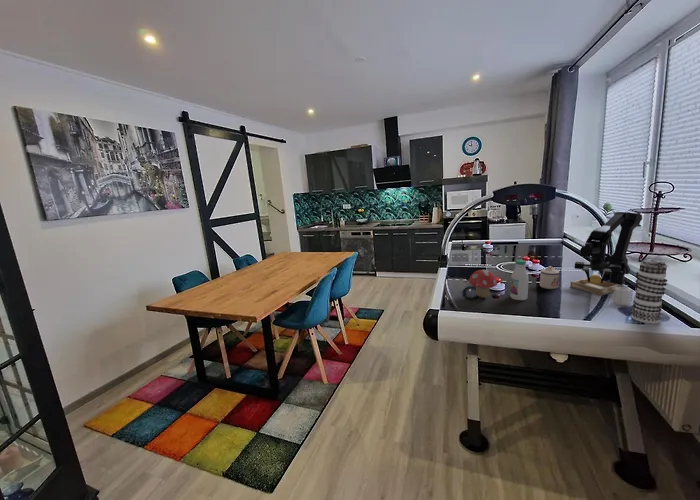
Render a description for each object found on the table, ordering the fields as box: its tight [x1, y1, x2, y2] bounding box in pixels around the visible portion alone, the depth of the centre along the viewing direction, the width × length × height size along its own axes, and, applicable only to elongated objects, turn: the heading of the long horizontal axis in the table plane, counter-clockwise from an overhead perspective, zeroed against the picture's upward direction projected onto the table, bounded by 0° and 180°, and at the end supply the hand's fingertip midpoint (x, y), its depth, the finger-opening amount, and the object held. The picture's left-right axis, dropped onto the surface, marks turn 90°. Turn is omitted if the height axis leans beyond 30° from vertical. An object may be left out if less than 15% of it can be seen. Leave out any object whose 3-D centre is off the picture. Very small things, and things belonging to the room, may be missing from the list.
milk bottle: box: [509, 259, 529, 301], centre depth 151 cm, size 8×8×20 cm
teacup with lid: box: [539, 265, 560, 290], centre depth 165 cm, size 12×9×12 cm
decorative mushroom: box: [468, 269, 498, 299], centre depth 155 cm, size 13×13×15 cm
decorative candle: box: [630, 258, 669, 324], centre depth 120 cm, size 9×9×25 cm
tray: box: [569, 277, 622, 296], centre depth 158 cm, size 15×15×3 cm
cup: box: [612, 286, 631, 306], centre depth 138 cm, size 5×5×7 cm
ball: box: [590, 274, 602, 284], centre depth 158 cm, size 5×5×5 cm
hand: (595, 282), depth 158 cm, fingers closed on ball, 5 cm apart
